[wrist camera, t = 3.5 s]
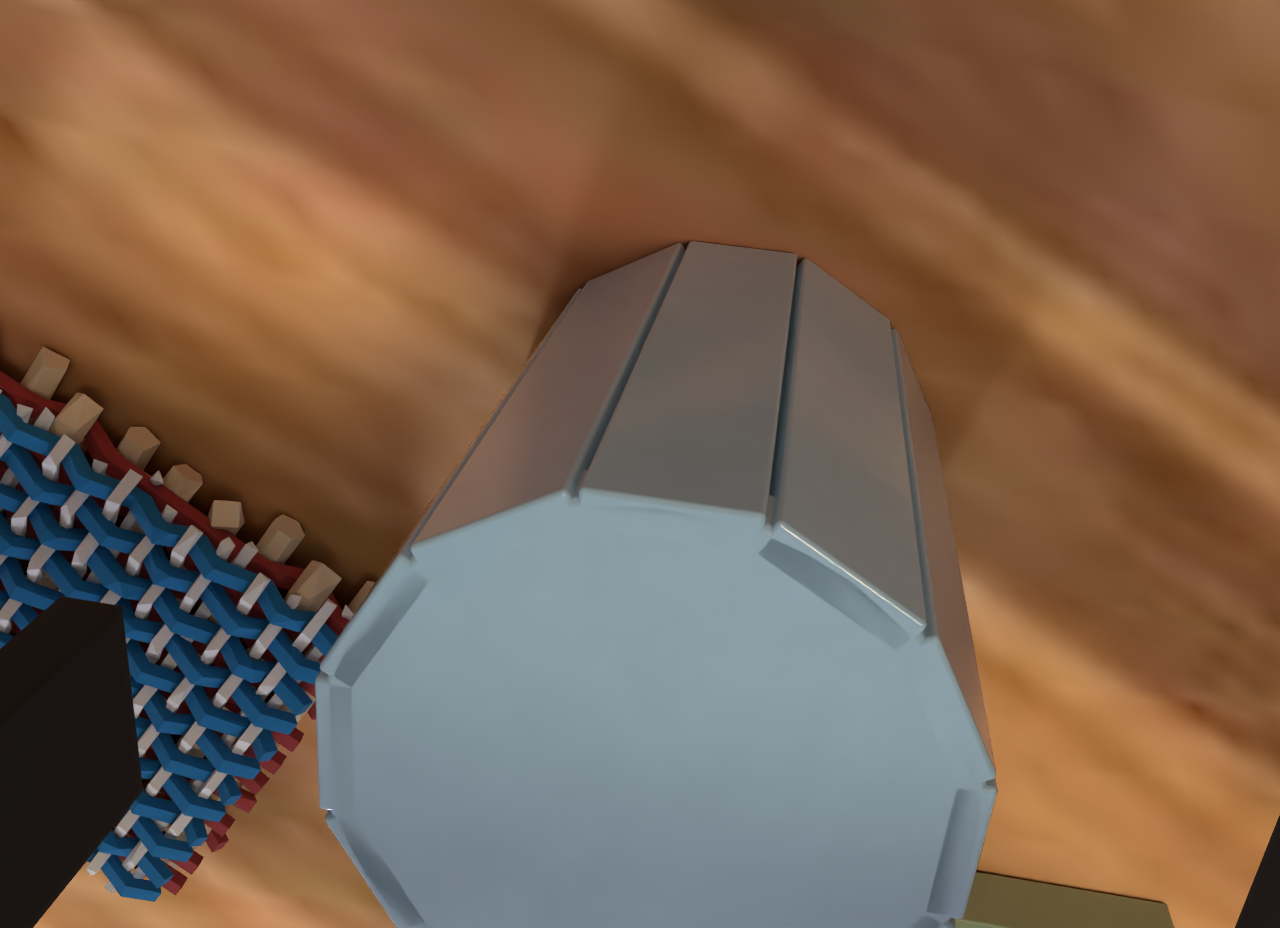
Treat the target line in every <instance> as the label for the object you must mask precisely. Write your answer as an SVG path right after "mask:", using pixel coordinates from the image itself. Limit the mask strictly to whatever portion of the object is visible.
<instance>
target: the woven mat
mask: <svg viewBox="0 0 1280 928" xmlns="http://www.w3.org/2000/svg"><path fill="white" fill-rule="evenodd" d="M69 363H70V360H69V359H67V358H65V357H63V356H61V355H59V354H57V353H55V352H53V351H51V350H49V349H47V348H45V347H42V348H41V350H40V352H39V353H38V355H37V357H36V358H35V360H34V362H33V363H32V365H31V367H30V368H29V370H28V372H27V373H26V375H25V377H24V378H23V380H22V382H21V383H18V382H16V381H15V380H13V379H12V378H10V377H9V376H7V375H6V374H4V373H3V372H1V371H0V649H1V648H2V647H3V646H4V645H5V644H7V643H8V642H9V641H10V640H11V639H12V638H13V637H15V636H16V635H17V634H18V633H19V632H20V631H21V630H23V629H24V628H25V627H26V626H27V625H28V624H30V623H31V622H32V621H33V620H34V619H35V618H36V617H38V616H39V615H40V614H41V613H42V612H43V611H45V610H46V609H47V608H48V607H49V606H50V605H51V604H53V603H54V602H55V601H56V600H57V599H58V598H59V597H61V596H64V597H70V598H76V599H82V600H88V601H94V602H100V603H106V604H112V605H118V606H122V610H123V619H124V628H125V636H126V645H127V654H128V662H129V671H130V680H131V689H132V697H133V706H134V715H135V724H136V732H137V741H138V750H139V759H140V767H141V776H142V778H143V779H147V780H148V782H147V784H146V785H143V784H142V785H143V791H142V793H141V794H140V795H139V796H138V798H137V799H136V800H135V801H134V803H133V804H132V805H131V806H130V808H129V809H128V810H127V811H126V813H125V814H124V815H123V816H122V818H121V819H120V820H119V821H118V823H117V824H116V825H115V827H114V828H113V829H112V830H111V831H110V832H109V834H108V835H107V836H106V837H105V839H104V840H103V841H102V842H101V844H100V845H99V846H98V847H97V849H96V850H95V851H94V852H93V854H92V855H91V856H90V857H89V859H88V860H87V861H86V862H90V864H89V865H88V866H87V868H86V870H87V871H88V872H89V874H90V875H91V876H92V875H94V874H96V873H97V872H98V871H99V870H100V869H101V870H102V871H103V872H104V874H105V875H106V876H107V878H108V879H109V881H108V883H107V884H106V885H105V887H104V888H106V889H107V890H108V891H109V892H110V893H112V892H115V891H116V890H117V892H118V893H119V894H120V896H122V897H128V898H135V899H141V900H147V901H154V902H155V900H156V899H157V898H158V897H159V895H160V894H161V886H162V887H164V888H165V889H167V890H168V891H170V892H171V893H173V894H174V895H176V894H177V893H178V892H179V890H180V889H181V888H182V886H183V885H184V883H185V881H186V880H187V877H186V876H184V875H183V874H181V873H180V872H179V871H177V870H176V869H177V868H178V867H181V868H182V869H184V870H185V871H187V872H188V873H190V874H193V872H194V871H195V870H196V869H197V867H198V866H199V864H200V863H201V861H202V859H203V858H204V857H203V856H201V855H200V854H198V853H197V852H195V851H194V849H195V848H196V847H197V846H201V845H202V843H203V842H204V841H206V842H207V844H208V846H209V848H210V850H211V851H212V852H214V851H217V850H219V849H221V848H222V847H223V846H224V845H225V844H226V843H227V842H228V841H229V840H228V838H227V836H226V834H225V833H226V832H227V830H228V829H229V828H230V826H231V825H232V824H233V822H234V821H235V819H234V818H232V817H231V816H230V815H228V814H227V813H226V809H227V807H228V806H229V805H234V806H236V807H238V808H240V809H242V810H243V811H245V812H247V813H249V812H250V810H251V809H252V808H253V806H254V805H255V803H256V802H257V801H256V798H255V796H254V795H256V794H257V793H258V792H259V791H260V790H261V789H262V787H263V786H264V785H265V784H266V783H267V781H268V780H269V778H268V777H267V776H266V775H264V774H263V773H262V772H261V771H260V770H261V769H260V766H262V767H263V768H264V769H266V770H267V771H269V772H270V773H272V774H273V775H274V774H275V772H276V771H277V770H278V769H279V767H280V766H281V765H282V763H283V761H284V760H285V758H286V756H285V755H284V754H282V753H281V752H279V751H278V750H277V747H276V746H277V745H278V744H280V745H282V746H283V747H285V748H286V749H288V750H289V751H291V752H293V750H294V749H295V748H296V747H297V746H298V744H299V743H300V741H301V739H302V737H303V735H304V733H302V732H301V731H299V730H298V729H296V728H295V727H296V726H297V722H298V721H300V720H301V719H302V718H303V717H304V716H305V714H306V713H307V712H308V714H309V715H310V717H311V719H312V720H313V719H316V695H315V679H316V677H317V675H318V674H319V672H320V671H321V669H320V663H321V661H322V660H323V658H324V657H325V655H326V654H327V653H328V651H329V650H330V648H331V647H332V645H333V644H334V642H335V641H336V639H337V638H338V636H339V635H340V634H341V632H342V631H343V629H344V628H345V626H346V625H347V623H348V622H349V620H350V619H351V617H352V616H353V615H354V613H355V612H356V610H357V609H358V607H359V606H360V604H361V603H362V601H363V600H364V598H365V597H366V596H367V594H368V593H369V591H370V590H371V588H372V587H373V585H374V584H375V582H371V581H367V582H366V583H365V584H364V586H363V587H362V588H361V589H360V591H359V592H358V593H357V595H356V596H355V597H354V599H353V600H352V601H351V602H350V604H349V605H348V606H347V605H345V607H344V610H343V611H342V609H341V608H340V606H339V604H338V602H337V601H336V599H335V597H334V595H333V594H332V591H333V589H334V588H335V587H336V585H337V584H338V583H339V582H340V580H341V579H342V578H341V577H339V576H338V575H337V574H336V573H334V572H333V571H332V570H331V569H329V568H328V567H327V566H326V565H324V564H323V563H321V562H317V561H314V560H312V561H311V562H310V563H309V565H308V566H307V567H306V569H302V568H298V567H293V566H289V565H285V564H284V563H285V562H286V560H287V559H288V558H289V557H290V555H291V554H292V553H293V551H294V550H295V549H296V547H297V546H298V545H299V543H300V542H301V541H302V539H303V538H304V537H305V534H304V532H303V530H302V528H301V526H300V524H299V522H298V521H296V520H294V519H292V518H290V517H288V516H285V515H281V516H279V517H277V518H276V519H274V521H273V522H272V524H271V525H270V526H269V528H268V529H267V531H266V532H265V534H264V535H263V536H262V538H261V539H260V541H259V542H258V543H257V545H256V546H255V545H254V543H253V542H249V543H247V544H245V543H244V542H242V541H241V540H239V539H238V538H237V537H235V536H236V534H237V533H238V531H239V530H240V528H241V527H242V526H243V524H244V523H245V521H244V516H243V511H242V506H241V502H235V501H225V500H214V501H213V503H212V506H211V509H210V511H209V514H208V516H206V515H204V514H203V513H201V512H200V511H199V510H197V509H196V508H194V507H193V506H192V505H190V504H189V503H188V502H189V501H190V500H191V498H192V497H193V496H194V494H195V493H196V492H197V491H198V489H199V488H200V487H201V485H202V484H203V481H202V475H200V474H199V473H197V472H196V471H195V470H193V469H192V468H191V467H189V466H188V465H187V464H182V465H175V466H173V467H172V468H171V470H170V471H169V472H168V473H167V475H166V476H165V477H164V478H163V479H162V477H161V474H160V472H159V470H158V471H157V472H156V473H155V474H154V475H152V476H150V475H148V474H147V473H145V472H144V471H143V470H144V468H145V467H146V465H147V464H148V462H149V461H150V459H151V457H152V456H153V454H154V453H155V451H156V450H157V448H158V446H159V445H160V441H159V440H158V439H157V438H156V437H155V436H154V435H153V434H152V433H151V432H150V431H149V430H148V429H147V428H146V427H130V428H129V429H128V431H127V432H126V434H125V436H124V437H123V439H122V440H121V442H120V443H119V445H118V447H117V448H116V449H115V447H114V446H113V444H112V442H111V441H110V439H109V437H108V436H107V434H106V433H105V431H104V429H103V428H102V426H101V425H100V423H99V421H97V420H96V419H97V418H98V416H99V415H100V414H101V412H102V411H103V408H102V407H100V406H99V405H98V404H97V403H95V402H94V401H93V400H92V399H90V398H89V397H88V396H86V395H85V394H82V393H76V394H75V395H74V396H73V397H72V399H71V400H70V401H69V402H68V403H67V404H64V403H60V402H56V401H52V400H50V399H51V397H52V395H53V394H54V392H55V390H56V388H57V386H58V384H59V383H60V381H61V379H62V377H63V375H64V374H65V372H66V370H67V367H68V365H69ZM87 450H88V452H89V453H90V455H91V457H92V458H93V464H92V468H91V467H90V465H89V463H88V461H87V459H86V458H85V456H84V455H85V453H86V452H87ZM2 512H3V513H4V514H6V515H7V518H6V519H5V517H4V516H3V514H2ZM118 515H120V516H124V517H125V519H124V521H123V522H122V524H121V525H120V527H119V528H117V526H116V525H115V523H116V521H117V517H118ZM56 520H58V521H59V523H57V521H56ZM162 545H163V546H165V547H166V549H167V551H168V552H169V554H170V556H171V558H170V562H169V561H168V558H167V556H166V553H165V551H164V548H163V546H162ZM22 560H25V561H29V565H28V568H27V576H26V577H25V575H24V573H23V570H22V568H21V566H20V563H21V561H22ZM226 560H227V561H228V562H230V563H228V562H226ZM276 587H279V588H284V589H289V592H288V593H287V595H286V597H285V598H284V600H283V598H282V596H281V594H280V593H279V591H278V589H277V588H276ZM194 604H195V605H199V606H200V607H199V609H198V610H197V612H196V613H195V614H194V616H193V615H191V614H189V612H190V611H191V609H192V608H193V606H194ZM133 609H134V610H135V611H136V612H135V614H134V612H133ZM315 612H317V613H315ZM239 637H242V638H243V640H244V641H245V643H246V644H247V646H248V648H247V649H246V650H245V648H244V646H243V645H242V643H241V641H240V639H239ZM302 651H304V652H306V654H305V656H304V655H303V654H302ZM212 663H213V664H214V665H216V666H217V667H216V666H210V665H211V664H212ZM256 688H258V689H257V691H255V689H256ZM270 692H273V693H275V694H274V695H273V696H272V698H271V699H270V700H269V701H268V703H267V704H266V703H265V702H264V700H265V699H266V697H267V696H268V695H269V694H270ZM208 696H209V697H210V699H209V697H208ZM170 734H177V735H181V737H180V738H179V739H178V742H177V743H176V744H175V743H174V741H173V739H172V737H171V735H170ZM204 756H206V757H207V758H208V760H206V759H202V758H203V757H204ZM186 779H187V780H189V781H190V782H189V783H187V781H186ZM244 786H246V787H247V788H248V789H249V790H250V791H251V792H252V793H251V792H249V791H246V790H244V789H242V788H243V787H244ZM155 820H156V821H155ZM154 821H155V823H154ZM169 824H172V826H171V827H170V828H169V830H168V831H167V832H165V831H164V829H165V828H166V827H167V826H168V825H169ZM133 868H135V869H136V870H135V871H134V873H133V874H131V873H130V872H131V870H132V869H133ZM145 876H147V877H148V878H149V880H150V881H149V880H143V878H144V877H145Z"/></svg>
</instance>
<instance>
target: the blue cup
mask: <svg viewBox="0 0 1280 928" xmlns="http://www.w3.org/2000/svg"><path fill="white" fill-rule="evenodd" d="M797 258H798V257H797V255H796V254H794V253H786V252H777V251H769V250H761V249H753V248H745V247H736V246H728V245H720V244H712V243H704V242H696V241H691V242H689V244H688V246H687V248H686V251H685V249H684V247H683V245H682V244H681V243H677V244H675V245H672V246H670V247H668V248H665V249H663V250H661V251H658V252H656V253H653V254H651V255H649V256H646V257H644V258H642V259H639V260H637V261H635V262H632V263H630V264H628V265H625V266H623V267H620V268H618V269H616V270H613V271H611V272H609V273H606V274H604V275H602V276H599V277H597V278H595V279H592V280H590V281H588V282H587V283H586V284H585V286H584V287H583V289H580V288H579V289H578V290H577V291H576V292H575V294H574V295H573V297H572V298H571V299H570V301H569V302H568V304H567V305H566V307H565V308H564V309H563V311H562V312H561V314H560V315H559V316H558V318H557V319H556V321H555V322H554V324H553V325H552V326H551V328H550V329H549V331H548V332H547V333H546V335H545V336H544V338H543V339H542V341H541V342H540V343H539V345H538V346H537V348H536V349H535V350H534V352H533V353H532V355H531V356H530V357H529V359H528V360H527V362H526V363H525V365H524V366H523V368H522V369H521V370H520V372H519V373H518V375H517V376H516V378H515V379H514V381H513V382H512V384H511V385H510V387H509V388H508V389H507V391H506V392H505V394H504V395H503V397H502V398H501V400H500V401H499V403H498V404H497V406H496V407H495V408H494V410H493V411H492V413H491V414H490V416H489V417H488V419H487V420H486V422H485V423H484V425H483V426H482V427H481V429H480V430H479V432H478V433H477V435H476V436H475V438H474V439H473V441H472V442H471V444H470V445H469V446H468V448H467V449H466V451H465V452H464V454H463V455H462V457H461V458H460V460H459V461H458V463H457V464H456V465H455V467H454V468H453V470H452V471H451V473H450V474H449V476H448V477H447V479H446V480H445V482H444V483H443V484H442V486H441V487H440V489H439V490H438V492H437V493H436V495H435V496H434V498H433V499H432V501H431V502H430V503H429V505H428V506H427V508H426V509H425V511H424V512H423V514H422V515H421V517H420V518H419V520H418V521H417V522H416V524H415V525H414V527H413V528H412V530H411V531H410V533H409V534H408V536H407V537H406V539H405V540H404V541H403V543H402V544H401V546H400V547H399V549H398V550H397V552H396V553H395V555H394V556H393V558H392V559H391V560H390V562H389V563H388V565H387V566H386V568H385V569H384V571H383V572H382V574H381V575H380V577H379V578H378V579H377V581H376V582H375V584H374V585H373V587H372V588H371V590H370V591H369V593H368V594H367V596H366V597H365V598H364V600H363V601H362V603H361V604H360V606H359V607H358V609H357V610H356V612H355V613H354V615H353V616H352V617H351V619H350V620H349V622H348V623H347V625H346V626H345V628H344V629H343V631H342V632H341V634H340V635H339V636H338V638H337V639H336V641H335V642H334V644H333V645H332V647H331V648H330V650H329V651H328V653H327V654H326V655H325V657H324V658H323V660H322V661H321V663H320V669H321V671H320V672H319V674H318V675H317V677H316V679H315V695H316V722H317V749H318V777H319V804H320V808H322V809H325V810H328V812H327V814H326V816H325V821H326V823H327V824H328V826H329V827H330V829H331V830H332V832H333V833H334V835H335V836H336V838H337V839H338V841H339V842H340V844H341V845H342V847H343V848H344V850H345V851H346V853H347V854H348V856H349V857H350V859H351V860H352V862H353V863H354V865H355V866H356V868H357V869H358V871H359V872H360V874H361V875H362V877H363V878H364V880H365V881H366V883H367V884H368V886H369V887H370V889H371V890H372V892H373V893H374V895H375V896H376V898H377V899H378V901H379V902H380V904H381V905H382V907H383V908H384V910H385V911H386V913H387V914H388V916H389V917H390V919H391V920H392V922H393V923H394V925H395V926H396V928H956V921H955V919H962V918H963V917H964V915H965V912H966V908H967V904H968V901H969V897H970V893H971V889H972V886H973V882H974V878H975V874H976V871H977V867H978V863H979V859H980V856H981V852H982V848H983V845H984V841H985V837H986V833H987V830H988V826H989V822H990V818H991V815H992V811H993V807H994V804H995V800H996V796H997V792H998V789H997V784H996V778H995V777H996V767H995V762H994V756H993V751H992V745H991V740H990V734H989V728H988V723H987V717H986V712H985V706H984V701H983V695H982V690H981V684H980V679H979V673H978V668H977V662H976V656H975V651H974V645H973V640H972V634H971V629H970V623H969V618H968V612H967V607H966V601H965V596H964V590H963V584H962V579H961V573H960V568H959V562H958V557H957V551H956V546H955V540H954V535H953V529H952V523H951V518H950V512H949V507H948V501H947V496H946V490H945V485H944V479H943V474H942V468H941V463H940V457H939V451H938V446H937V440H936V435H935V429H934V424H933V418H932V416H931V413H930V411H929V408H928V406H927V403H926V401H925V398H924V396H923V393H922V391H921V388H920V385H919V383H918V380H917V378H916V375H915V373H914V370H913V368H912V365H911V363H910V360H909V358H908V355H907V353H906V350H905V348H904V345H903V343H902V340H901V338H900V335H899V333H898V330H897V329H891V322H890V320H889V319H888V318H886V317H885V316H884V315H882V314H881V313H880V312H878V311H877V310H876V309H874V308H873V307H872V306H870V305H869V304H868V303H866V302H865V301H864V300H862V299H861V298H860V297H858V296H857V295H856V294H854V293H853V292H852V291H850V290H849V289H848V288H846V287H845V286H844V285H842V284H841V283H840V282H838V281H837V280H836V279H834V278H833V277H831V276H830V275H829V274H827V273H826V272H825V271H823V270H822V269H821V268H819V267H818V266H817V265H815V264H814V263H813V262H811V261H810V260H809V259H806V258H805V259H803V260H802V262H801V263H800V264H799V265H798V267H797ZM796 267H797V268H796Z"/></svg>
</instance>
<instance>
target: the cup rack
mask: <svg viewBox="0 0 1280 928" xmlns="http://www.w3.org/2000/svg"><path fill="white" fill-rule="evenodd" d="M955 921H956V928H1174V925H1173V922H1172V919H1171V916H1170V913H1169V910H1168V907H1167V905H1166V904H1163V903H1157V902H1151V901H1145V900H1140V899H1134V898H1128V897H1122V896H1116V895H1110V894H1104V893H1098V892H1092V891H1086V890H1081V889H1075V888H1069V887H1063V886H1057V885H1051V884H1045V883H1039V882H1033V881H1027V880H1022V879H1016V878H1010V877H1004V876H998V875H992V874H986V873H980V872H976V874H975V878H974V882H973V886H972V889H971V893H970V897H969V901H968V904H967V908H966V912H965V915H964V917H963V918H962V919H955Z"/></svg>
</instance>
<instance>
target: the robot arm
mask: <svg viewBox="0 0 1280 928" xmlns="http://www.w3.org/2000/svg"><path fill="white" fill-rule="evenodd" d="M142 791H143V785H142V776H141V767H140V759H139V750H138V741H137V732H136V724H135V715H134V706H133V697H132V689H131V680H130V671H129V662H128V654H127V645H126V636H125V628H124V619H123V610H122V606H118V605H112V604H106V603H100V602H94V601H88V600H82V599H76V598H70V597H64V596H61V597H59V598H58V599H57V600H56V601H55V602H54V603H53V604H51V605H50V606H49V607H48V608H47V609H46V610H45V611H43V612H42V613H41V614H40V615H39V616H38V617H36V618H35V619H34V620H33V621H32V622H31V623H30V624H28V625H27V626H26V627H25V628H24V629H23V630H21V631H20V632H19V633H18V634H17V635H16V636H15V637H13V638H12V639H11V640H10V641H9V642H8V643H7V644H5V645H4V646H3V647H2V648H1V649H0V928H33V927H34V926H35V924H36V923H37V922H38V921H39V919H40V918H41V917H42V916H43V914H44V913H45V912H46V911H47V910H48V908H49V907H50V906H51V905H52V903H53V902H54V901H55V900H56V898H57V897H58V896H59V895H60V893H61V892H62V891H63V890H64V888H65V887H66V886H67V885H68V883H69V882H70V881H71V880H72V878H73V877H74V876H75V875H76V873H77V872H78V871H79V870H80V869H81V867H82V866H83V865H84V864H85V862H86V861H87V860H88V859H89V857H90V856H91V855H92V854H93V852H94V851H95V850H96V849H97V847H98V846H99V845H100V844H101V842H102V841H103V840H104V839H105V837H106V836H107V835H108V834H109V832H110V831H111V830H112V829H113V828H114V826H115V825H116V824H117V823H118V821H119V820H120V819H121V818H122V816H123V815H124V814H125V813H126V811H127V810H128V809H129V808H130V806H131V805H132V804H133V803H134V801H135V800H136V799H137V798H138V796H139V795H140V794H141V793H142ZM1235 928H1280V816H1279V818H1278V821H1277V823H1276V826H1275V828H1274V831H1273V833H1272V836H1271V838H1270V841H1269V843H1268V846H1267V848H1266V851H1265V853H1264V856H1263V858H1262V861H1261V863H1260V866H1259V868H1258V871H1257V873H1256V876H1255V878H1254V881H1253V883H1252V886H1251V889H1250V891H1249V894H1248V896H1247V899H1246V901H1245V904H1244V906H1243V909H1242V911H1241V914H1240V916H1239V919H1238V921H1237V924H1236V926H1235Z"/></svg>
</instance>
